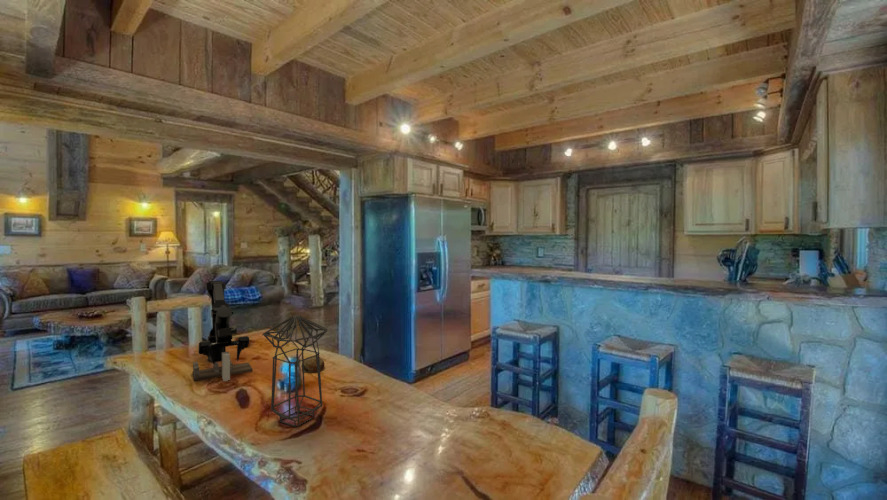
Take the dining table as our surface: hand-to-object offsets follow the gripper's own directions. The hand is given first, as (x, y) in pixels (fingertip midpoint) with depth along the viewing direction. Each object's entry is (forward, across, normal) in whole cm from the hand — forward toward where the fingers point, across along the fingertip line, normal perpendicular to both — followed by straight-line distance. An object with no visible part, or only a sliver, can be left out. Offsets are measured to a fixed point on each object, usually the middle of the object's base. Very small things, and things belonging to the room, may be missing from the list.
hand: (226, 362), depth 162 cm
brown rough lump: (+10, +34, +1) cm, 36 cm away
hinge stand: (-3, 0, +14) cm, 14 cm away
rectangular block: (+4, 0, +6) cm, 8 cm away
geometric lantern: (+43, +14, -32) cm, 55 cm away
